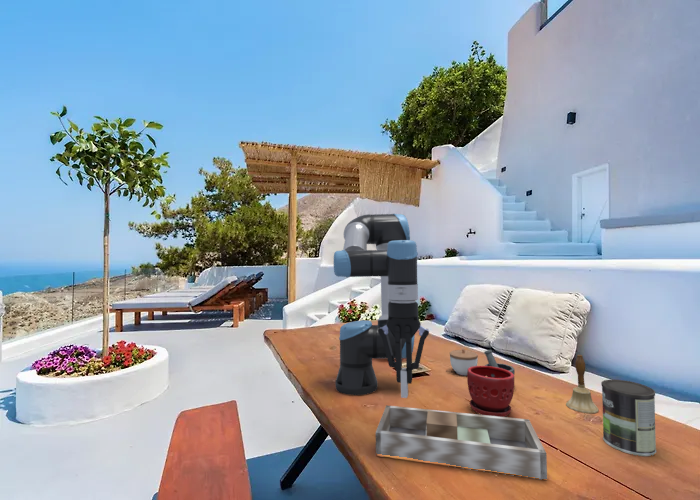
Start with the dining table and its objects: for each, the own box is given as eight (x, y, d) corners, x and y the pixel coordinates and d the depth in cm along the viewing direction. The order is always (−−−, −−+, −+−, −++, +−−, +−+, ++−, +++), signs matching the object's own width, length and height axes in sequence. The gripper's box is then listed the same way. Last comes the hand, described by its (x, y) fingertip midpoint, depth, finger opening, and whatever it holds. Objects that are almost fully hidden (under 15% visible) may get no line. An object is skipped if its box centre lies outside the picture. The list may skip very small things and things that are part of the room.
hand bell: (589, 416, 100) (587, 360, 100) (560, 405, 107) (558, 353, 108) (604, 409, 104) (603, 356, 104) (575, 399, 111) (574, 349, 112)
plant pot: (512, 425, 95) (511, 381, 95) (463, 414, 102) (462, 373, 102) (517, 407, 106) (516, 368, 106) (473, 398, 113) (472, 361, 113)
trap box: (375, 456, 81) (375, 432, 81) (386, 425, 96) (386, 405, 96) (547, 480, 72) (546, 453, 72) (529, 441, 87) (529, 419, 87)
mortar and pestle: (520, 389, 121) (520, 354, 121) (501, 393, 117) (500, 358, 117) (495, 379, 131) (494, 347, 131) (476, 383, 127) (475, 350, 127)
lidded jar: (463, 379, 131) (462, 354, 132) (444, 371, 141) (443, 347, 141) (484, 374, 136) (483, 350, 136) (464, 367, 146) (464, 344, 146)
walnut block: (426, 442, 82) (426, 423, 82) (428, 428, 89) (427, 410, 89) (457, 446, 80) (457, 426, 80) (456, 431, 87) (456, 413, 87)
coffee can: (610, 451, 82) (608, 391, 82) (597, 431, 91) (596, 377, 92) (665, 460, 78) (663, 397, 78) (646, 438, 87) (645, 382, 88)
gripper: (374, 302, 86) (376, 399, 85) (428, 303, 82) (430, 404, 82) (380, 299, 93) (381, 388, 92) (429, 300, 90) (431, 392, 89)
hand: (404, 395), depth 87 cm, fingers closed
